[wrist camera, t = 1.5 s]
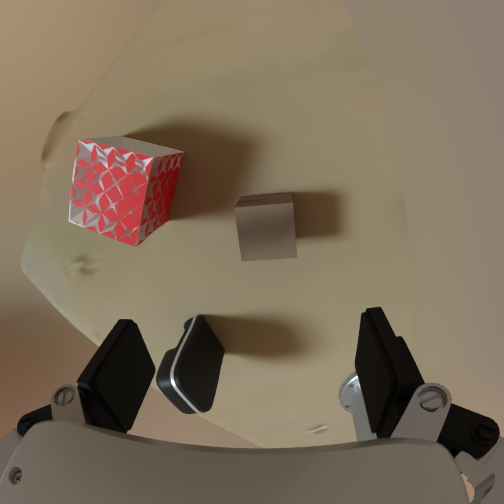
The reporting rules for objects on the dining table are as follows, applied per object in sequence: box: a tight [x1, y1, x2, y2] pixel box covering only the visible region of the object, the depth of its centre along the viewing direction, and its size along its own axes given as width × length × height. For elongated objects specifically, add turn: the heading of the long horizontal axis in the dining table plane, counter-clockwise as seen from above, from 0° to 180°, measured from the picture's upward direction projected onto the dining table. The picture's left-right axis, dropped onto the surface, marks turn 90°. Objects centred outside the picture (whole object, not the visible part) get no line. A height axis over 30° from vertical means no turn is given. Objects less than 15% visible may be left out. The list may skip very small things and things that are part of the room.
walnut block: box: [234, 192, 297, 261], centre depth 27 cm, size 5×5×5 cm
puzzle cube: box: [69, 136, 184, 247], centre depth 25 cm, size 8×8×8 cm
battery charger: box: [156, 316, 225, 414], centre depth 31 cm, size 7×4×11 cm, turn 25°
